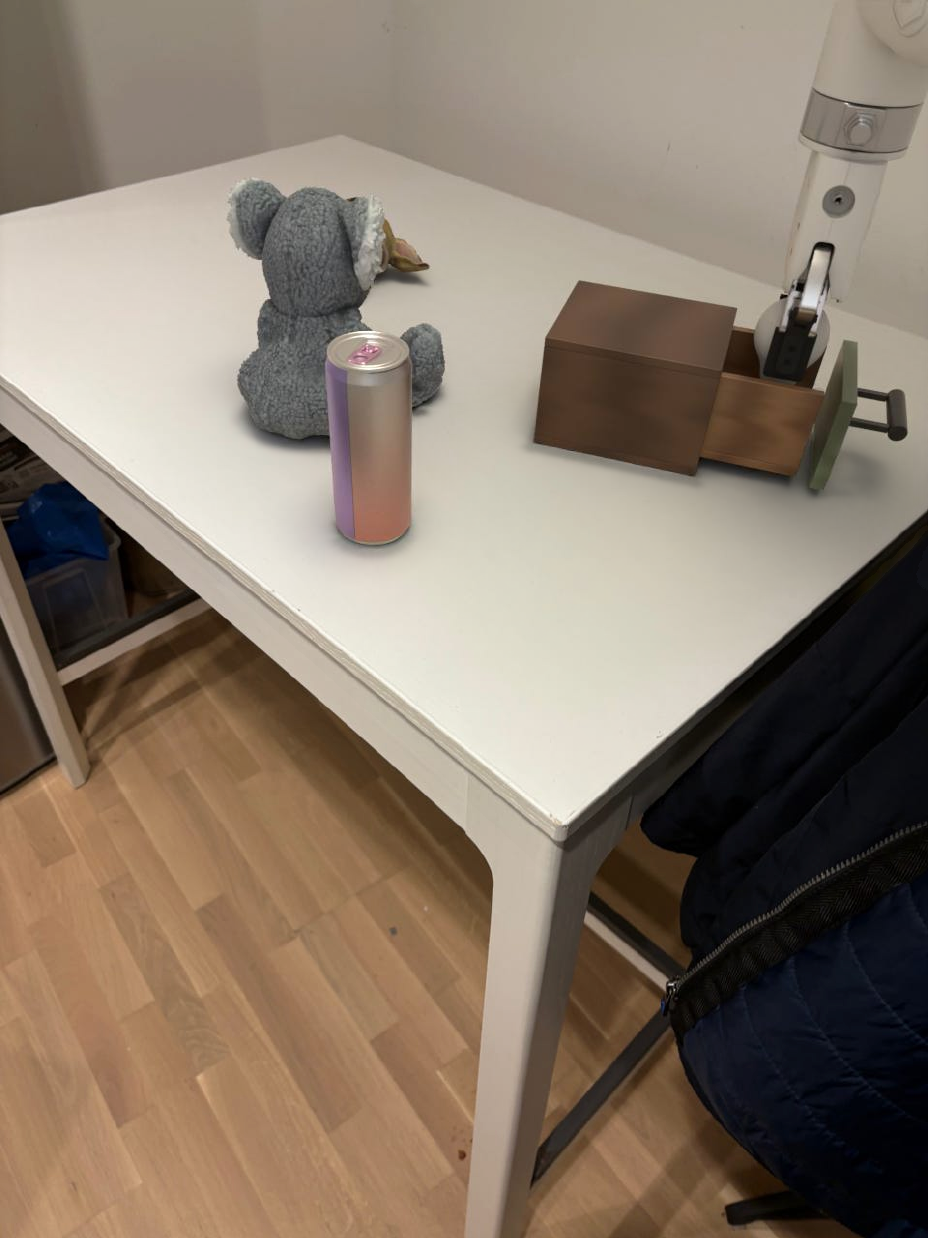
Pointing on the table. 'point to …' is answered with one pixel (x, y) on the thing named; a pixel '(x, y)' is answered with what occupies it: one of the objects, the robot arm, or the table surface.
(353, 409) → the beverage can
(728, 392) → the drawer
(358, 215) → the koala plush
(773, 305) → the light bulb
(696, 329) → the cabinet
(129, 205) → the table surface
